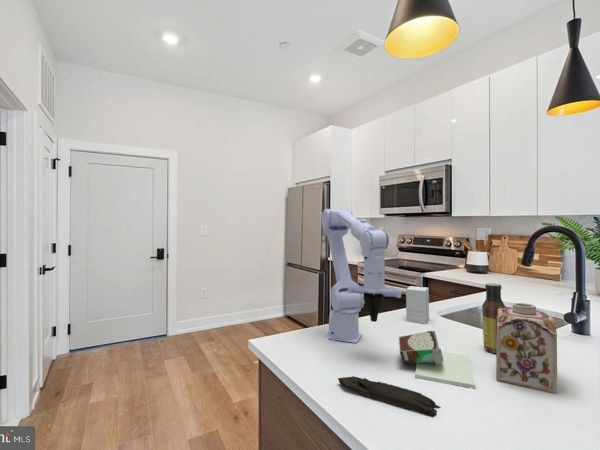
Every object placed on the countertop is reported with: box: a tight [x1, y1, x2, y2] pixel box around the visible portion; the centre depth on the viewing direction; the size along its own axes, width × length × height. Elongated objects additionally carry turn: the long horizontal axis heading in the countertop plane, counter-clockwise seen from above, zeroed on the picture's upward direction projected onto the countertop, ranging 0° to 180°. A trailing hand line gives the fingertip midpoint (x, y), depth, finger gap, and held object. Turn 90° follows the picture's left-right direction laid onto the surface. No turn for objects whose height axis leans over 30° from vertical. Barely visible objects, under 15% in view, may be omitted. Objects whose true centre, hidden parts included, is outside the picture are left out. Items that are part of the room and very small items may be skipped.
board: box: [414, 350, 476, 389], centre depth 84 cm, size 13×18×1 cm
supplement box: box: [405, 285, 430, 324], centre depth 125 cm, size 7×7×13 cm
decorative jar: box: [495, 302, 558, 394], centre depth 79 cm, size 12×12×18 cm
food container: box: [398, 330, 444, 365], centre depth 86 cm, size 12×6×10 cm
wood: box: [337, 375, 441, 418], centre depth 71 cm, size 22×7×3 cm, turn 59°
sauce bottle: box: [482, 282, 507, 355], centre depth 95 cm, size 6×6×20 cm
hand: (374, 320), depth 90 cm, fingers closed
